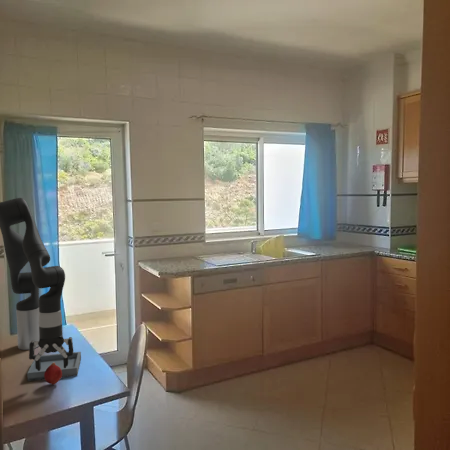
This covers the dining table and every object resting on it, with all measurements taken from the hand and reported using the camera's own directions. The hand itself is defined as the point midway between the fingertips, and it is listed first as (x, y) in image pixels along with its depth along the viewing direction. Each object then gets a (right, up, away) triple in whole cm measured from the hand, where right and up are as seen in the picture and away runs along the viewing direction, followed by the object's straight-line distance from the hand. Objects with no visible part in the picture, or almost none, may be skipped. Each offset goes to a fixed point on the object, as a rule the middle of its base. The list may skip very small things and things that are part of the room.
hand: (52, 368), depth 148 cm
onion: (0, -6, +1) cm, 6 cm away
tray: (-4, -5, +14) cm, 16 cm away
